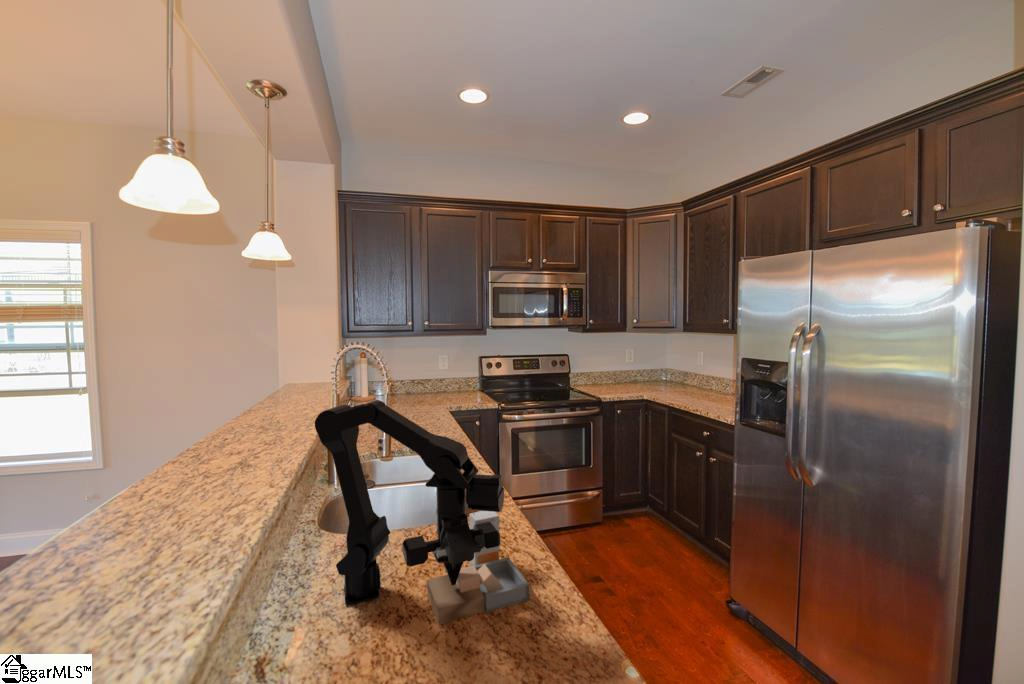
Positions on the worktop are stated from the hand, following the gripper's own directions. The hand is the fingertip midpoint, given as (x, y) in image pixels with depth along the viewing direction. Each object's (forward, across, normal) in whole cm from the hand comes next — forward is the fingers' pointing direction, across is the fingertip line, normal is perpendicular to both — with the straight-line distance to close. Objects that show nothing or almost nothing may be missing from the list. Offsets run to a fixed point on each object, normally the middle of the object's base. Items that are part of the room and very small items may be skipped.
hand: (453, 584), depth 86 cm
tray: (+4, +10, 0) cm, 10 cm away
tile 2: (+2, +7, 0) cm, 7 cm away
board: (+4, 0, 0) cm, 4 cm away
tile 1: (+1, +3, 0) cm, 3 cm away
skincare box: (+4, +10, +10) cm, 15 cm away
